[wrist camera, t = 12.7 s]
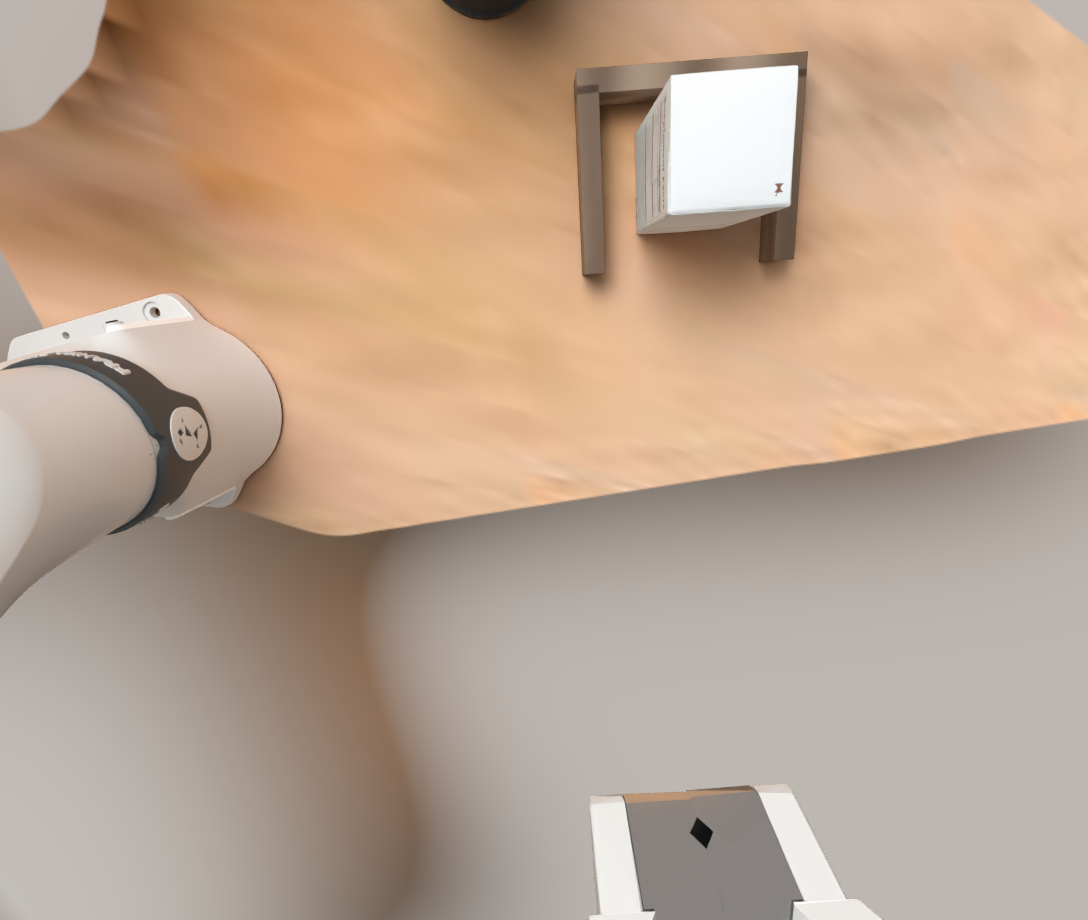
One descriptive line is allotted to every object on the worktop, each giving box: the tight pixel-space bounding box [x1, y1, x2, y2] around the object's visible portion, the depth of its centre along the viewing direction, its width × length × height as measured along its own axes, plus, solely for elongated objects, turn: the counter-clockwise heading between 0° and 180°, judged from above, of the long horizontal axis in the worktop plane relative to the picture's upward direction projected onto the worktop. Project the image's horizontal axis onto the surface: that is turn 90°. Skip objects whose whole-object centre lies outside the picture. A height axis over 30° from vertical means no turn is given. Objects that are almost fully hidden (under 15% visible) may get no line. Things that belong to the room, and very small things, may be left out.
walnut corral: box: [574, 51, 808, 275], centre depth 41 cm, size 16×14×3 cm
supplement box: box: [635, 65, 798, 234], centre depth 37 cm, size 7×7×13 cm
